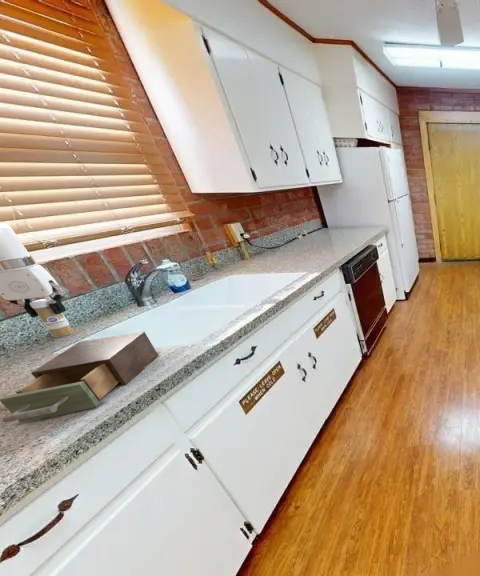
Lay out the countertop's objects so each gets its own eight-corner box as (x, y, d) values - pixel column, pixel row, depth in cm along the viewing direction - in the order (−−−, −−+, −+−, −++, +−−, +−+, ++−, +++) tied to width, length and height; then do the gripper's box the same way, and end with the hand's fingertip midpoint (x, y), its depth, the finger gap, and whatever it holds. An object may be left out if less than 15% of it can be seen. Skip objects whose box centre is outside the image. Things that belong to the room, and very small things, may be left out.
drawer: (80, 421, 69) (61, 398, 66) (-2, 440, 64) (-27, 416, 61) (133, 373, 84) (119, 352, 81) (70, 385, 80) (53, 364, 77)
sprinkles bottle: (56, 339, 101) (31, 304, 95) (51, 336, 102) (26, 302, 97) (78, 333, 104) (55, 298, 99) (72, 330, 106) (50, 296, 101)
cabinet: (127, 385, 81) (108, 359, 77) (53, 400, 76) (30, 372, 72) (159, 355, 93) (144, 331, 89) (97, 366, 88) (79, 341, 84)
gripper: (-45, 271, 86) (-1, 324, 94) (42, 263, 92) (76, 314, 100) (-17, 263, 92) (22, 313, 100) (62, 257, 99) (94, 304, 106)
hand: (49, 313), depth 100 cm, fingers closed on sprinkles bottle, 4 cm apart
